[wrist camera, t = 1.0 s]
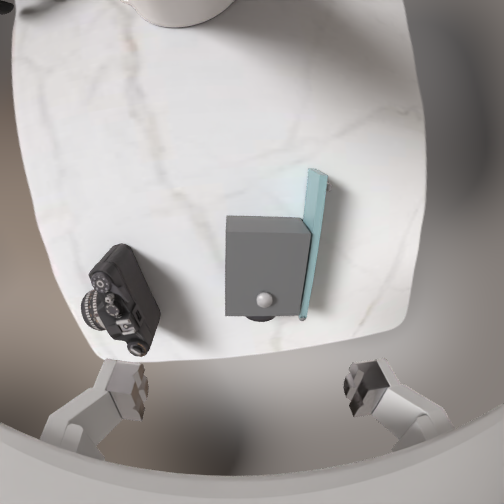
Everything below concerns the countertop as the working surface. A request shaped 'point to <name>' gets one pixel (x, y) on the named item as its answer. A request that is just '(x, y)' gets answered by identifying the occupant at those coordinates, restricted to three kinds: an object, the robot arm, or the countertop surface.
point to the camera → (121, 301)
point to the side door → (313, 229)
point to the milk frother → (5, 7)
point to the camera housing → (265, 266)
